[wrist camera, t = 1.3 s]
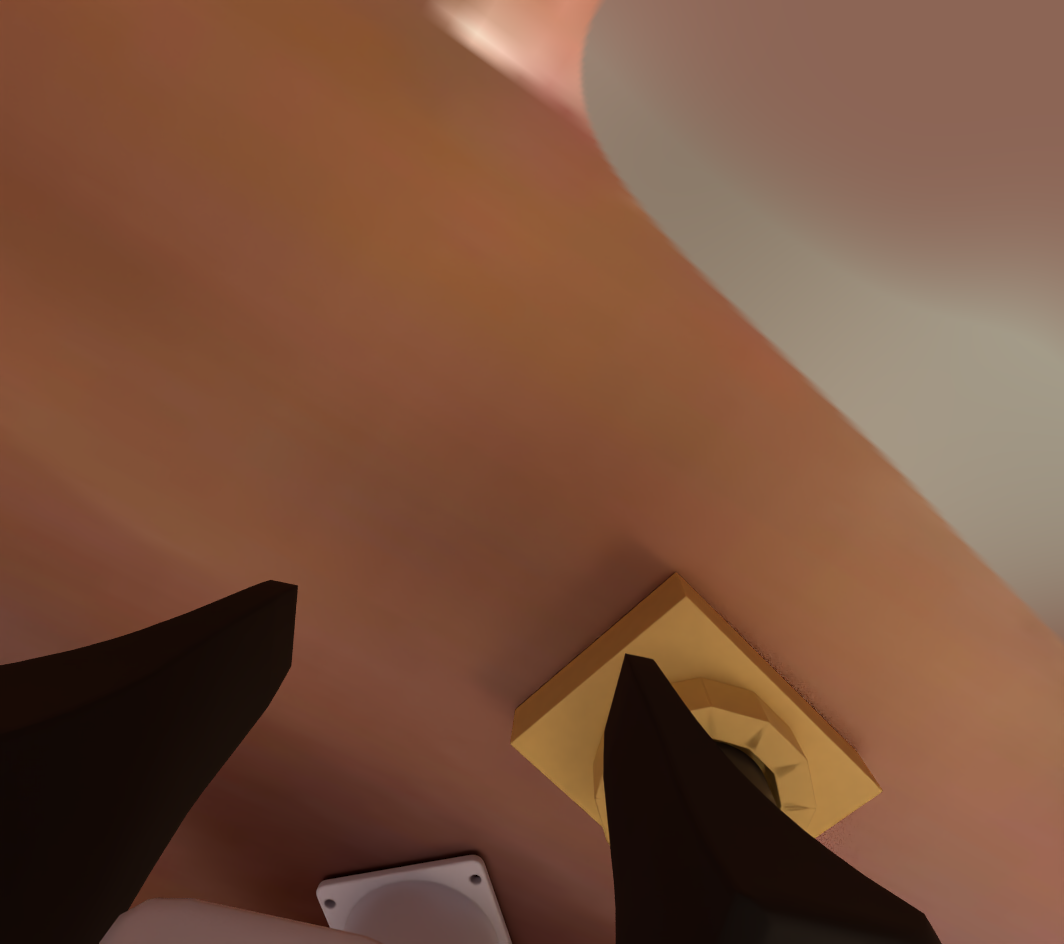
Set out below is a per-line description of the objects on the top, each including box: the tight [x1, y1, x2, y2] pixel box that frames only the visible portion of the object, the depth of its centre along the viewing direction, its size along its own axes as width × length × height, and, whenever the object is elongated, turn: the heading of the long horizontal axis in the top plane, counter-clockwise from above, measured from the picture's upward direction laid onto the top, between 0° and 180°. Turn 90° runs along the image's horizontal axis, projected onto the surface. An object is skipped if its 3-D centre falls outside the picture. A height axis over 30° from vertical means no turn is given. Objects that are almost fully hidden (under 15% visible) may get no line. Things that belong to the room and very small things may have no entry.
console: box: [510, 573, 882, 845], centre depth 24 cm, size 11×9×4 cm
